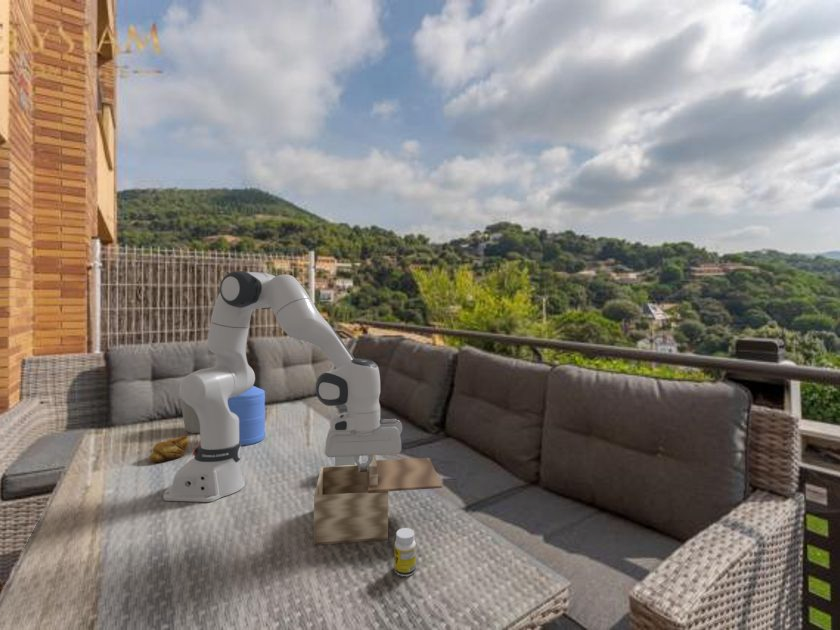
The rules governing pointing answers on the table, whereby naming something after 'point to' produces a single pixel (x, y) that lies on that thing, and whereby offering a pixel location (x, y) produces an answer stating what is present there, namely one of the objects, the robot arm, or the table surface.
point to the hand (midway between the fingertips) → (363, 470)
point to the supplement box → (346, 460)
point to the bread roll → (169, 449)
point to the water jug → (250, 415)
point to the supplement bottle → (405, 552)
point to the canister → (190, 418)
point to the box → (348, 507)
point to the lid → (401, 475)
